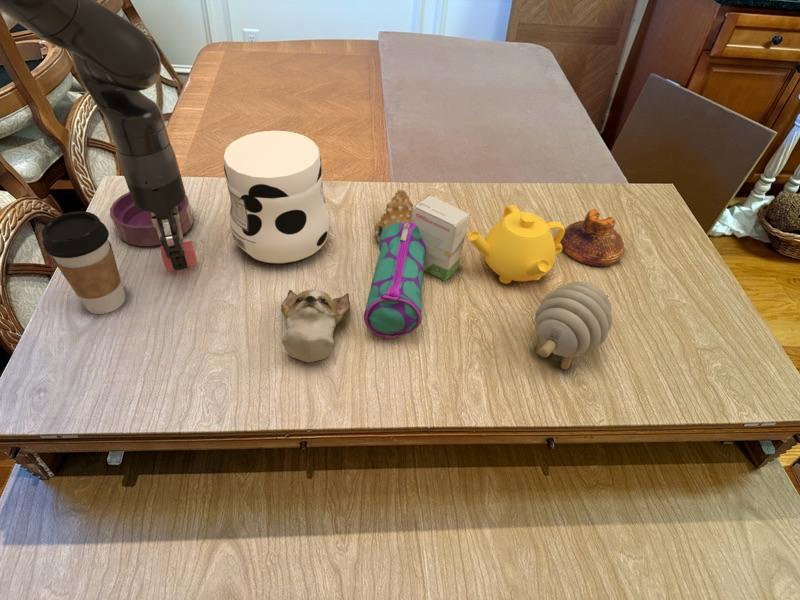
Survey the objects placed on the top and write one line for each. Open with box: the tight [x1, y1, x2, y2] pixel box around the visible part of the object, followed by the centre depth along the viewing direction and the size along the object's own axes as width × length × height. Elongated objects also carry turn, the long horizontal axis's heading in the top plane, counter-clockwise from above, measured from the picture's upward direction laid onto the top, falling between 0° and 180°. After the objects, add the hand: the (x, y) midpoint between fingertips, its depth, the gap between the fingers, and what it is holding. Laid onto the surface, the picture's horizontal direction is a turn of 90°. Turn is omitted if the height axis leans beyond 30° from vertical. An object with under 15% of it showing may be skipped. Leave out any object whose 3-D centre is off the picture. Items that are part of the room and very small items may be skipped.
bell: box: [560, 208, 625, 267], centre depth 99 cm, size 12×12×7 cm
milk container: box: [223, 130, 331, 265], centre depth 92 cm, size 17×17×18 cm
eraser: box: [159, 240, 198, 271], centre depth 90 cm, size 5×3×3 cm, turn 112°
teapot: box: [467, 204, 566, 285], centre depth 92 cm, size 14×14×11 cm
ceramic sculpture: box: [280, 289, 351, 363], centre depth 80 cm, size 11×9×15 cm
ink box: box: [411, 195, 471, 282], centre depth 92 cm, size 9×5×12 cm, turn 55°
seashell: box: [374, 189, 414, 243], centre depth 101 cm, size 9×8×10 cm
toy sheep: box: [534, 281, 613, 370], centre depth 79 cm, size 11×17×11 cm, turn 145°
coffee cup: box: [41, 210, 126, 315], centre depth 80 cm, size 8×8×15 cm
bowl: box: [109, 191, 194, 247], centre depth 98 cm, size 13×13×4 cm
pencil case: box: [363, 222, 426, 339], centre depth 86 cm, size 21×9×10 cm, turn 175°
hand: (179, 261), depth 91 cm, fingers closed on eraser, 2 cm apart
